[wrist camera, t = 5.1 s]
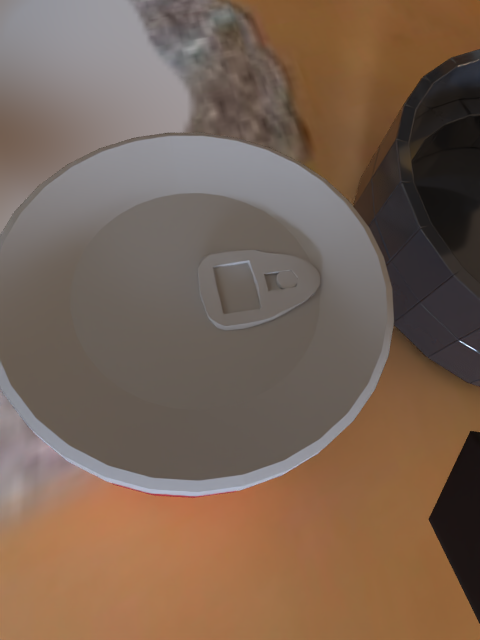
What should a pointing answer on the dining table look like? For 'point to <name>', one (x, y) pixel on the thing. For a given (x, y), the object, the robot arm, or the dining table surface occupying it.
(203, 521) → the dining table surface
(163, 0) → the dining table surface
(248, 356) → the canned food
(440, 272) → the bowl
